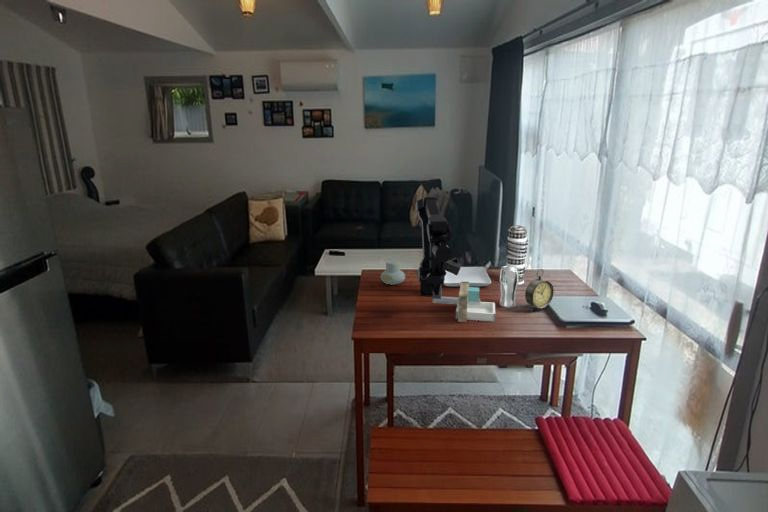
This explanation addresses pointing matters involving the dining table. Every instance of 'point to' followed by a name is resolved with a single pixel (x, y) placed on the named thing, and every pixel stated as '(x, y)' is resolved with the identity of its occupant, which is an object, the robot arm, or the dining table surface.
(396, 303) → the dining table surface
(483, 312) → the tray
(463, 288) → the guide frame
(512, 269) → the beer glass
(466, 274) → the salad plate
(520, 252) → the decorative candle
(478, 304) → the grey l-shaped block
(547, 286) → the alarm clock
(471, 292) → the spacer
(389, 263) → the air freshener
